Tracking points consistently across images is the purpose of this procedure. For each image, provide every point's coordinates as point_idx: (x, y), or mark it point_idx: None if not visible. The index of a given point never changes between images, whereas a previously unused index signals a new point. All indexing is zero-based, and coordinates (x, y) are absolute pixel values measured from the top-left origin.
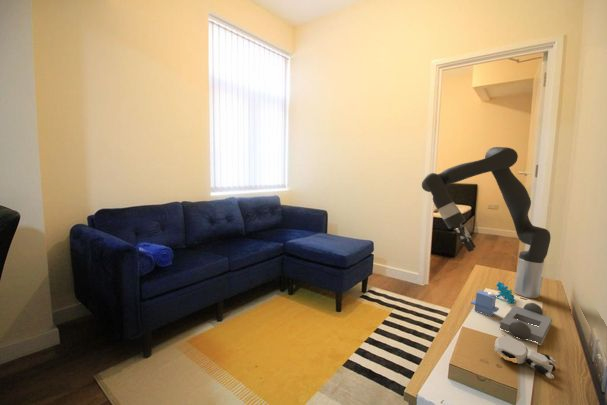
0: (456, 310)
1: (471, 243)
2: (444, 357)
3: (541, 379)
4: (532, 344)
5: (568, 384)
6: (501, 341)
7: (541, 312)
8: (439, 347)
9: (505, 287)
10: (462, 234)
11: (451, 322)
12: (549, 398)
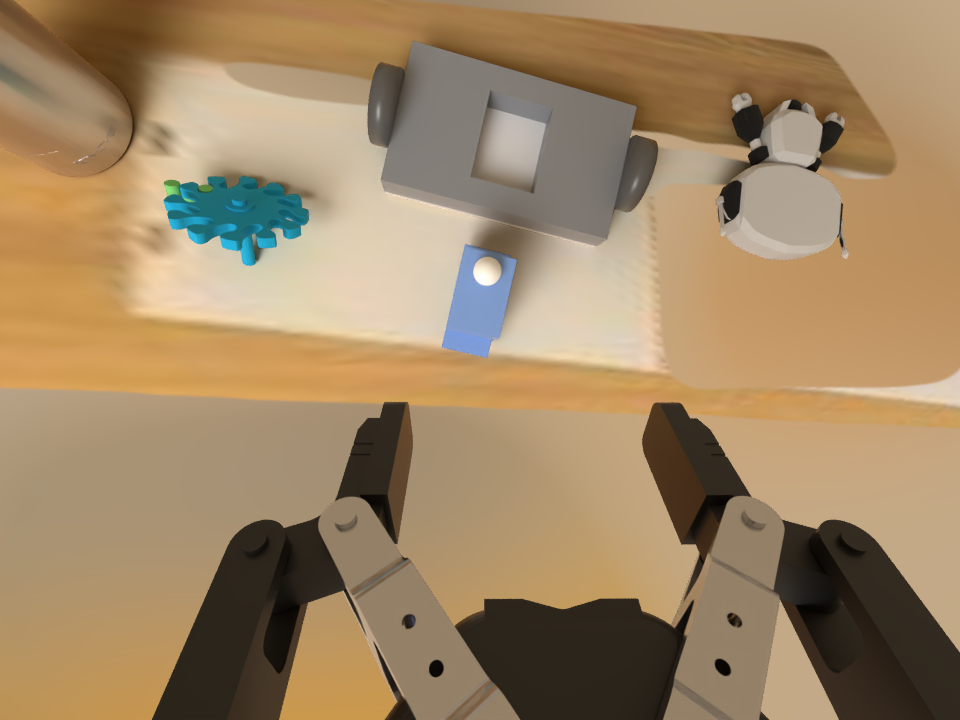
0: (540, 405)
1: (399, 462)
2: (885, 388)
3: None
4: None
5: (797, 86)
6: (797, 235)
7: (403, 73)
8: (845, 411)
9: (196, 206)
10: (949, 674)
11: None
12: (887, 141)
